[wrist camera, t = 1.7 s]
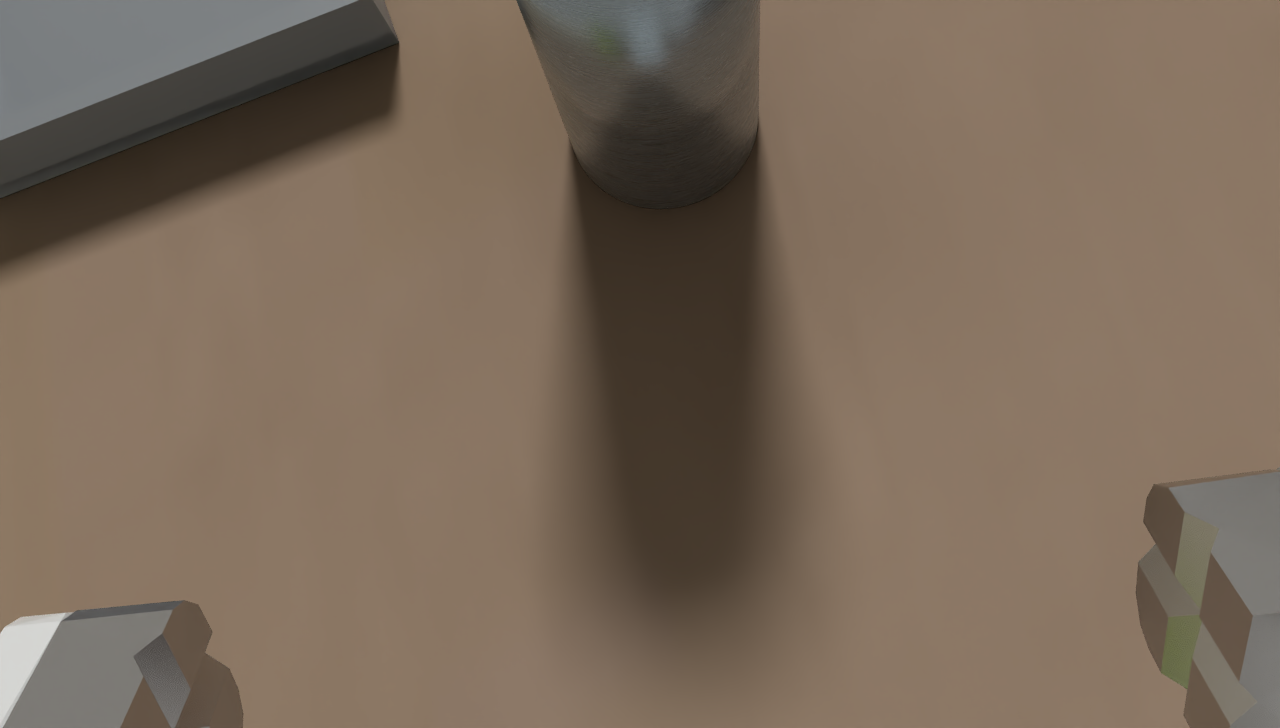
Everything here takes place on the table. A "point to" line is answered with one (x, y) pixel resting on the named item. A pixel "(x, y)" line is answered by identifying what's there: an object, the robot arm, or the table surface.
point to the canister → (653, 91)
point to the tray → (154, 68)
